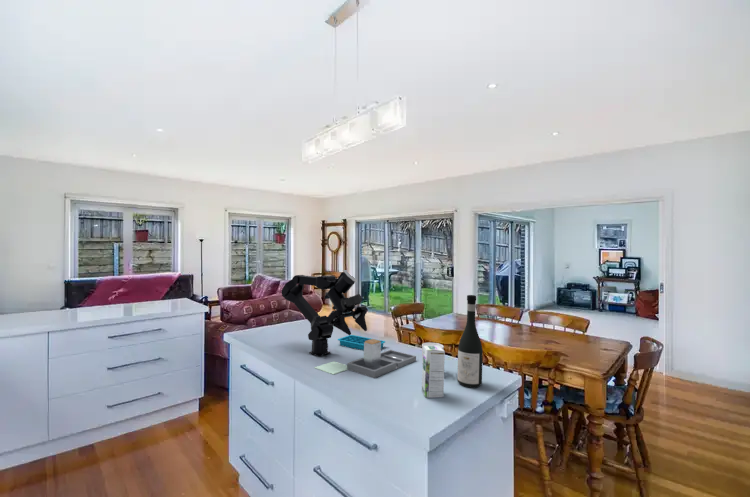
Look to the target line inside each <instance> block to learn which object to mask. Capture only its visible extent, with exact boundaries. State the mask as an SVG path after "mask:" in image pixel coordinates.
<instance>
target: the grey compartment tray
mask: <svg viewBox="0 0 750 497" xmlns="http://www.w3.org/2000/svg"><path fill="white" fill-rule="evenodd" d="M384 355H389V356H393V357H396V358H400V359H403V361H397V360H394V359H390V358H386V357H384ZM414 362H417V355H413V354H410V353H409V354H408V353H404V352H402V351H397V350H393V349H389V350H386V351H382V352H381V361H380V368H378V369H376V370H372V369H369V368H366V367H364V357H360V358H359V359H355V360H353V361H349V362H347V364H346V365H347V369H348V370H347V371H351V372H354V373H358V374H360V375H363V376H366V377H369V378H373V379H376V378H378V377H381V376H383V375H386V374H388V373H391V372H392V371H394V370H397V369H401V368H402V367H404V366H405V367H406V366H407V365H409V364H412V363H414Z"/></svg>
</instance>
